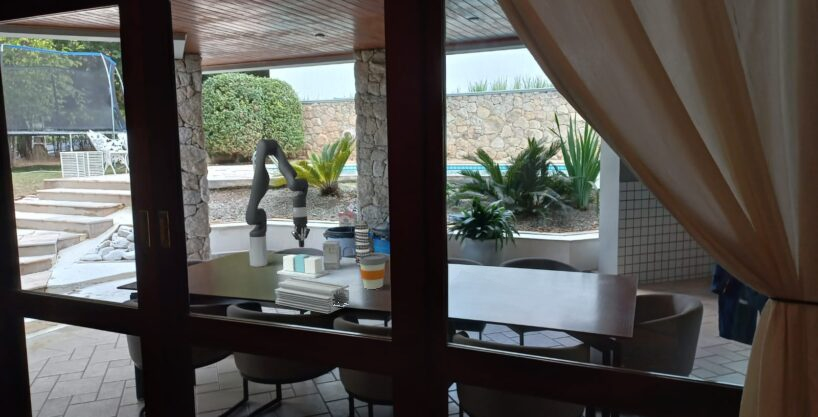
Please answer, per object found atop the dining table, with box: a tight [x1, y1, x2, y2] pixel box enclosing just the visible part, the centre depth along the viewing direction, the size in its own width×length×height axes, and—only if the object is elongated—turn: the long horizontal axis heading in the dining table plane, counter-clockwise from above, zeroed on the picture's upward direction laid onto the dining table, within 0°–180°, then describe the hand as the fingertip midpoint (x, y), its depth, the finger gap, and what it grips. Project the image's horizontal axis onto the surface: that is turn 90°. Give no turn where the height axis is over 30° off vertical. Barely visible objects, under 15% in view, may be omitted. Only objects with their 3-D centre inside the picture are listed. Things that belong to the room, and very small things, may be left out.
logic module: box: [295, 253, 311, 272], centre depth 304 cm, size 6×5×8 cm
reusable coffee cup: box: [359, 253, 387, 290], centre depth 271 cm, size 13×13×15 cm
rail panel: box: [276, 254, 330, 279], centre depth 304 cm, size 26×12×9 cm, turn 60°
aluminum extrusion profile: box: [274, 276, 350, 314], centre depth 246 cm, size 14×31×10 cm, turn 57°
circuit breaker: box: [322, 240, 343, 271], centre depth 317 cm, size 8×14×15 cm, turn 174°
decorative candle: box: [353, 219, 371, 266], centre depth 324 cm, size 9×9×25 cm
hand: (301, 247), depth 303 cm, fingers closed
